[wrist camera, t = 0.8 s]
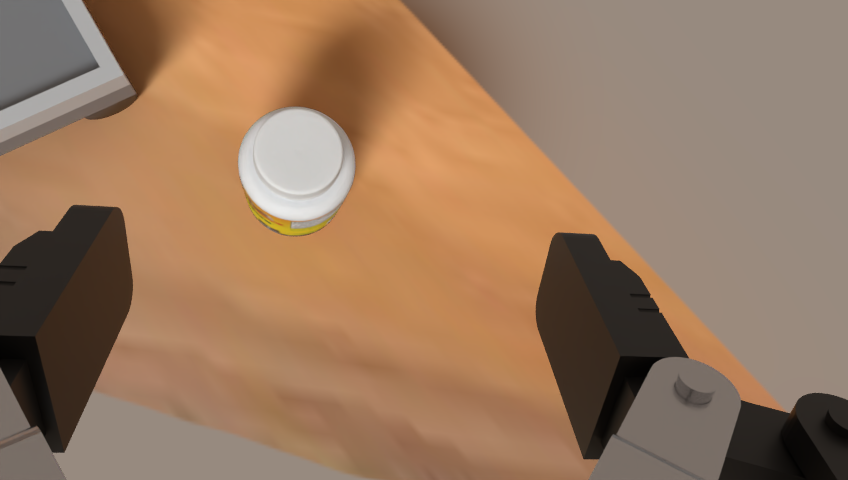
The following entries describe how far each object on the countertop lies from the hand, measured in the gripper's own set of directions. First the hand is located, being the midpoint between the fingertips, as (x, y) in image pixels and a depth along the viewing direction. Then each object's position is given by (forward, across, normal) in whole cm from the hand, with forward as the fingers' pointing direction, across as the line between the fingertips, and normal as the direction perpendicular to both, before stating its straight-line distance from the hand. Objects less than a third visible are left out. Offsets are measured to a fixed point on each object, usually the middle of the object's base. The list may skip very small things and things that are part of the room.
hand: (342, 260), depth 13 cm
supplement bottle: (+25, +3, +12) cm, 28 cm away
